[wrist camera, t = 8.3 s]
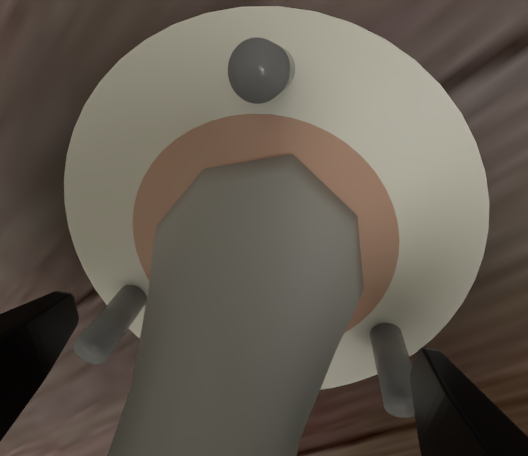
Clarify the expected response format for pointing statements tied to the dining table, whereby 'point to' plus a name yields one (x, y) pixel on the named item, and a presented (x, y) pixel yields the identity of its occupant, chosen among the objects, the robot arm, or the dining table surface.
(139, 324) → the pin cradle
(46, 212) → the dining table surface
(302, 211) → the flask
